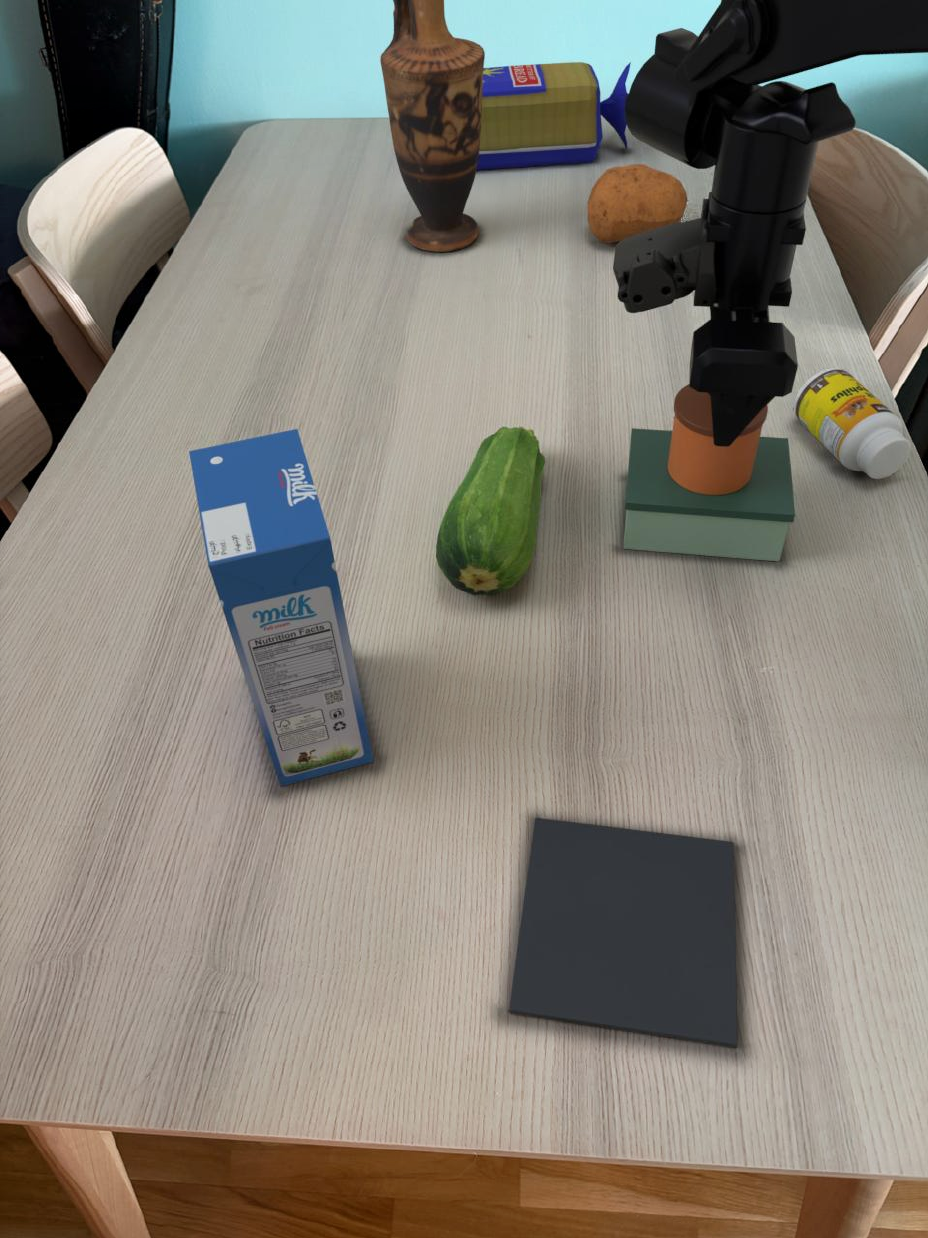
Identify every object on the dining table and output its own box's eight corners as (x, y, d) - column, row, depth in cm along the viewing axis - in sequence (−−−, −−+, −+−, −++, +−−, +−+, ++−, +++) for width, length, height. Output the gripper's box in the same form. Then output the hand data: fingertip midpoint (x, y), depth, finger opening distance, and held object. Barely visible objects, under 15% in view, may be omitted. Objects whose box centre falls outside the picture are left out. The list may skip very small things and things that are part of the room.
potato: (585, 217, 117) (588, 152, 111) (680, 216, 116) (688, 151, 110) (586, 253, 110) (589, 187, 105) (686, 253, 109) (695, 186, 104)
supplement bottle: (856, 360, 84) (931, 426, 78) (835, 415, 88) (905, 482, 81) (801, 368, 83) (873, 436, 76) (782, 423, 87) (849, 492, 80)
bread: (441, 145, 133) (436, 63, 126) (622, 133, 133) (628, 50, 126) (444, 176, 126) (439, 91, 119) (635, 163, 126) (642, 77, 119)
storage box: (776, 486, 81) (788, 437, 78) (782, 563, 75) (795, 514, 71) (626, 476, 83) (631, 427, 80) (620, 550, 77) (625, 502, 73)
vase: (507, 239, 114) (504, -69, 92) (429, 267, 110) (406, -47, 88) (455, 207, 120) (440, -88, 98) (380, 233, 116) (347, -68, 94)
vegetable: (446, 525, 67) (507, 369, 80) (408, 585, 72) (471, 429, 86) (539, 573, 68) (583, 411, 81) (495, 629, 73) (544, 468, 87)
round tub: (752, 445, 77) (766, 380, 73) (755, 500, 73) (770, 434, 68) (666, 440, 78) (675, 375, 74) (664, 493, 74) (673, 428, 69)
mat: (732, 846, 59) (733, 841, 58) (736, 1048, 51) (737, 1045, 50) (535, 821, 61) (535, 817, 60) (508, 1013, 53) (508, 1010, 52)
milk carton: (373, 762, 64) (330, 537, 49) (280, 787, 63) (208, 565, 48) (343, 654, 71) (296, 427, 56) (258, 675, 70) (188, 449, 55)
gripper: (634, 131, 67) (617, 334, 79) (617, 261, 55) (601, 479, 66) (800, 134, 66) (759, 341, 77) (822, 269, 53) (769, 491, 65)
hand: (720, 406), depth 71 cm, fingers open, 9 cm apart
